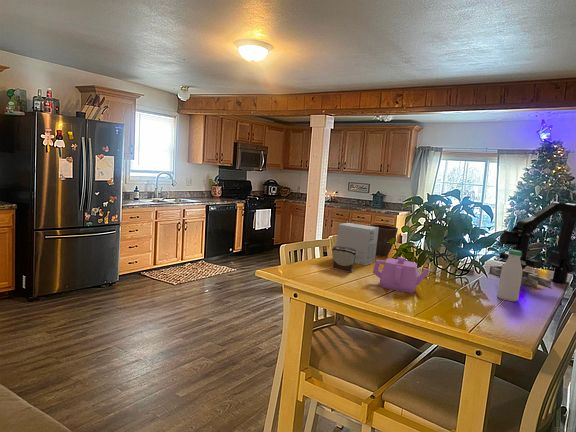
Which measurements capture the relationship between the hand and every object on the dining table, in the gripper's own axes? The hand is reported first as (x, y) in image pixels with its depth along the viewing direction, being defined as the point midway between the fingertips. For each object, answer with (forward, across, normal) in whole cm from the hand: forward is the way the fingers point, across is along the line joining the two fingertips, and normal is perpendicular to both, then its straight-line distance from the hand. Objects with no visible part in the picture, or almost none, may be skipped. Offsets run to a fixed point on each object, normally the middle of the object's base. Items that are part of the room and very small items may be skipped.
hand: (516, 276), depth 209 cm
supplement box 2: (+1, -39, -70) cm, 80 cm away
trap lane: (+1, +1, 0) cm, 1 cm away
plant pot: (+1, -50, -45) cm, 68 cm away
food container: (+1, -23, -87) cm, 90 cm away
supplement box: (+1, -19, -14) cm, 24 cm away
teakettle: (+2, +4, -78) cm, 78 cm away
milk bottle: (+1, +25, -39) cm, 46 cm away
